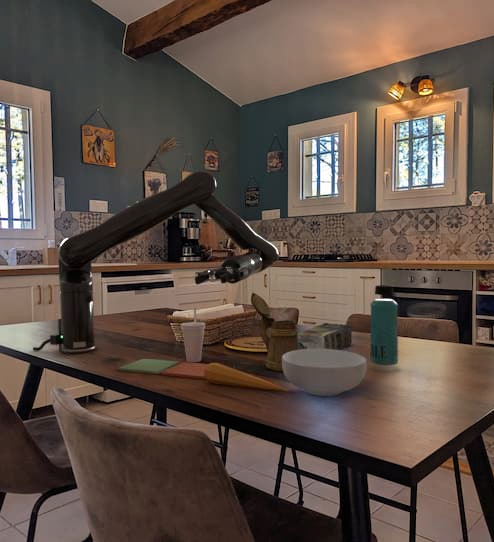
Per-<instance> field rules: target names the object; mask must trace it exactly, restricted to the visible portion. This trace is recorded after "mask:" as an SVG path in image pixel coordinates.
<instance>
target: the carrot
mask: <svg viewBox="0 0 494 542" xmlns="http://www.w3.org/2000/svg"><path fill="white" fill-rule="evenodd" d="M207 364H208V365H207V367H206V369H205V373H204V374H205V376H204V377H205V378H204V379H205V380H206V381H207V382H209V383H210V384H215V385H224V386H232V387H241V388H248V389H256V390H257V389H258V390H264V391H266V390H267V391H279V392H290V390H289V389H286V388H284V387H281V386H279V385H277V384H276V383H275V384H274V383H272V382H270V381H267V380H265V379H263V378H260V377H258V376H255V375H251V374H250V373H249V374H248V373H246V372H244V371H240V370H239V369H235V368H233V367H230V366H227V365H224V364H222V363H220V362H219V363H218V362H211V363H207Z"/></svg>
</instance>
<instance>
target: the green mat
mask: <svg viewBox="0 0 494 542" xmlns="http://www.w3.org/2000/svg"><path fill="white" fill-rule="evenodd" d="M180 363H181V361H176V360H166V359H155V358H154V359H153V358H141V359H139V360H136V361H133V362H131V363H128V364H125V365H122V366H120V367H118V368H117V369H118V371H121V372H129V373H130V372H132V373H141V374H151V375H158V374H161V372H162V371H165V370H167V369H169V368H171V367H174V366H176V365H178V364H180Z"/></svg>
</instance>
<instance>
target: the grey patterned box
mask: <svg viewBox="0 0 494 542" xmlns="http://www.w3.org/2000/svg"><path fill="white" fill-rule="evenodd" d="M352 329H353V326H352V325H350V324H341V323H339V324H338V323H329V322H324V323H322V324H319V325H315V326H312V327H309V328H307V329H303V330H299V331H298V332H299V333H298V341H299V347H300V350H301V349H333V350H341V349H343V348H346V347H348V346H351V345H352V343H353V340H352V338H353V337H352V336H353V334H352V332H353V330H352Z"/></svg>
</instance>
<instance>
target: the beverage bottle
mask: <svg viewBox="0 0 494 542" xmlns="http://www.w3.org/2000/svg"><path fill="white" fill-rule="evenodd" d="M374 295H378V296H391V295H394V291H393V285H388V284H379V285H375V287H374ZM398 308H399V304H398V303H397V302H396V301H395V300H394V299H392V298H376V299H374V300H372V301H371V302H370V318H369V326H370V335H369V337H370V339H369V341H370V351H369V356H370V357H369V359H370V362H371V363H372V364H374V365H376V366H377V365H378V366H395V365H397V364H398V361H399V335H398Z"/></svg>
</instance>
